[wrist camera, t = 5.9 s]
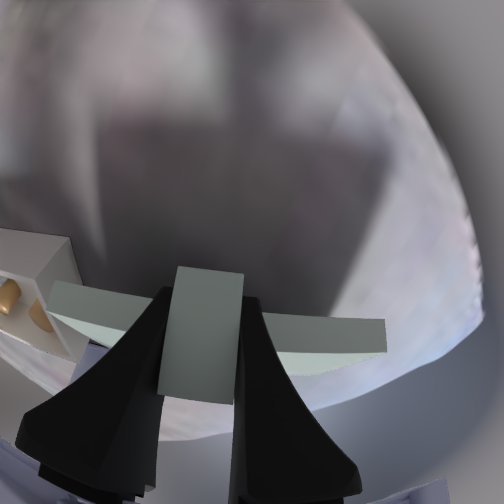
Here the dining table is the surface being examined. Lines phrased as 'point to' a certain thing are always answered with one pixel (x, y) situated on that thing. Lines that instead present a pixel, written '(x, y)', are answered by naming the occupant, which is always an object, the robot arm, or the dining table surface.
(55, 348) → the tub
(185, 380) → the lid
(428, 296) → the dining table surface
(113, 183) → the dining table surface
